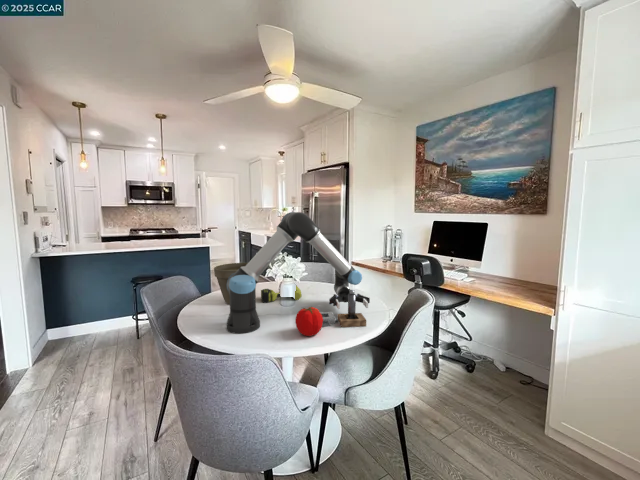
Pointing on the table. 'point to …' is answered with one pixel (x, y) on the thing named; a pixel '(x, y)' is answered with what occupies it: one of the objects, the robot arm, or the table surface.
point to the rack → (351, 320)
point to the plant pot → (226, 277)
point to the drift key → (325, 325)
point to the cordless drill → (276, 295)
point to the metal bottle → (351, 304)
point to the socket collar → (328, 317)
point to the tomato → (309, 321)
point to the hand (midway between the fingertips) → (353, 305)
